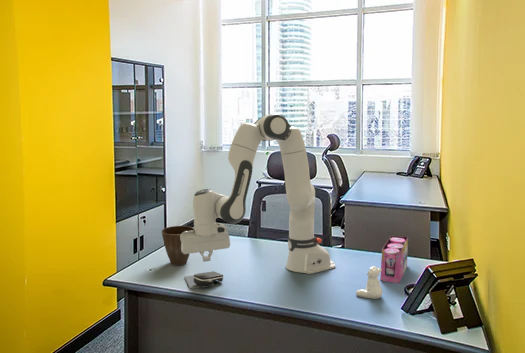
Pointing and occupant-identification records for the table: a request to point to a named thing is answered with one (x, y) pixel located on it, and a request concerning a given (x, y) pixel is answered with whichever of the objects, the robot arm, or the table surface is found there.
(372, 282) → the white creature statuette
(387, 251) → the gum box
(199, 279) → the battery charger
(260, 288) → the table surface
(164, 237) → the plant pot
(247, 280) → the table surface
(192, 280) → the mat
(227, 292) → the table surface
